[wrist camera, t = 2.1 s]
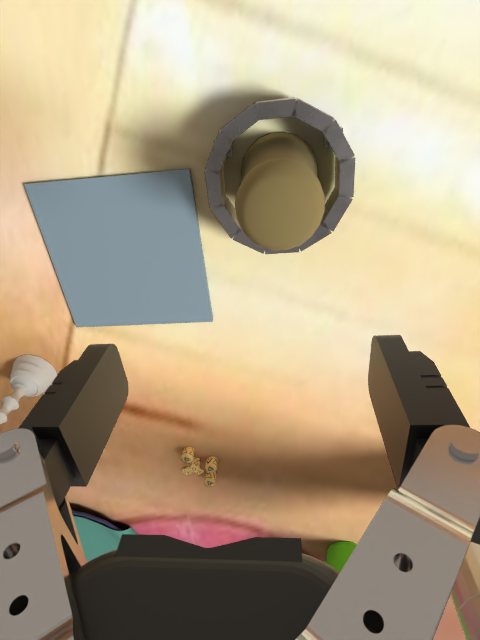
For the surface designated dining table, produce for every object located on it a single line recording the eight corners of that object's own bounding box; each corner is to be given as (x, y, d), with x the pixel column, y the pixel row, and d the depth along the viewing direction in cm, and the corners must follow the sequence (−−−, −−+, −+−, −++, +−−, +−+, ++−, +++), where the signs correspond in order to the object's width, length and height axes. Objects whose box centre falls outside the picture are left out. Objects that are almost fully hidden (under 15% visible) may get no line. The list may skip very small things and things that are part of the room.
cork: (231, 144, 30) (210, 173, 21) (310, 121, 29) (326, 140, 19) (251, 220, 33) (241, 275, 24) (323, 202, 32) (343, 252, 22)
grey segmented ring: (349, 90, 28) (358, 91, 25) (344, 234, 33) (350, 250, 30) (204, 106, 29) (196, 109, 26) (221, 242, 34) (216, 258, 31)
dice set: (185, 441, 49) (182, 453, 47) (225, 451, 49) (223, 463, 47) (177, 466, 51) (174, 479, 50) (215, 476, 52) (213, 488, 50)
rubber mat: (189, 168, 31) (188, 169, 31) (213, 319, 38) (212, 321, 38) (26, 183, 33) (23, 184, 33) (77, 325, 40) (76, 327, 40)
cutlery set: (20, 482, 55) (11, 497, 53) (220, 539, 59) (218, 555, 58) (10, 549, 65) (2, 564, 63) (181, 593, 70) (179, 608, 68)
